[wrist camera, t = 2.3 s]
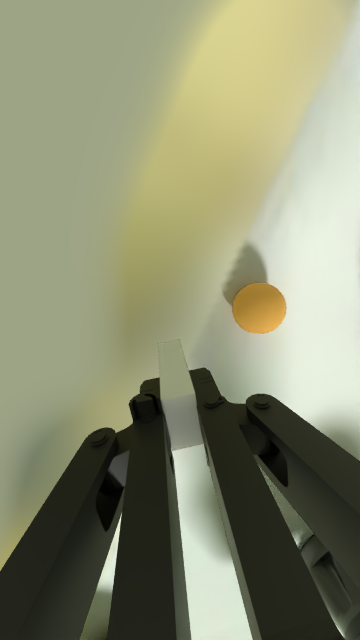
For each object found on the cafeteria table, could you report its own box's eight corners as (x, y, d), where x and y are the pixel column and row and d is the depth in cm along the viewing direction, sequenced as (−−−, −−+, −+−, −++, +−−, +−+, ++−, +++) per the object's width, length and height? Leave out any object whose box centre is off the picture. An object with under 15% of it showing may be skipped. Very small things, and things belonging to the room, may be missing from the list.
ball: (272, 320, 29) (298, 335, 24) (229, 329, 29) (245, 346, 24) (269, 276, 28) (296, 281, 23) (223, 284, 28) (239, 292, 22)
